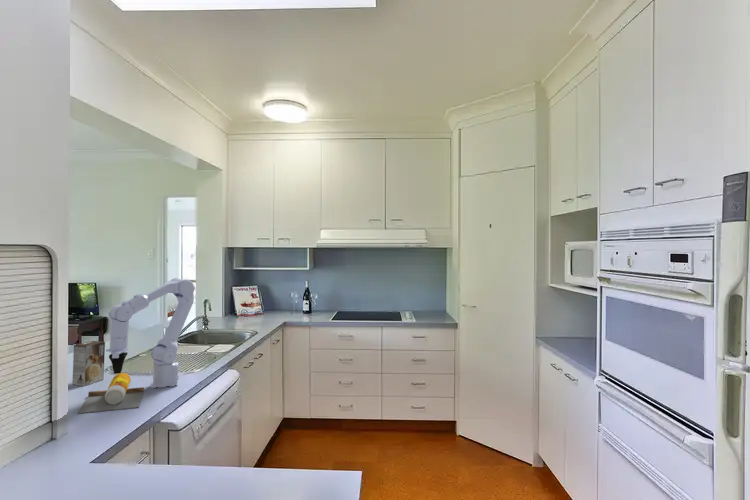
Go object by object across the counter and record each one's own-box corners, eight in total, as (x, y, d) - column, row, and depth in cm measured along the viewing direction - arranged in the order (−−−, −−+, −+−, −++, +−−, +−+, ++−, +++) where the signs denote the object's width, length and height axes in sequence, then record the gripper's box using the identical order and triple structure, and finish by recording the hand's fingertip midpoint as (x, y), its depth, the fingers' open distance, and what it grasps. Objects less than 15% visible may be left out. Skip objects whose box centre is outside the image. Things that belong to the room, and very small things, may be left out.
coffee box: (91, 378, 175) (93, 340, 175) (104, 379, 174) (106, 341, 174) (71, 384, 166) (73, 344, 166) (84, 386, 165) (86, 345, 165)
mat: (143, 392, 160) (143, 391, 160) (138, 407, 145) (138, 406, 145) (88, 397, 153) (88, 396, 153) (76, 413, 137) (76, 412, 137)
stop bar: (144, 391, 161) (144, 387, 161) (143, 392, 160) (143, 388, 160) (88, 396, 154) (89, 391, 154) (88, 397, 153) (88, 392, 153)
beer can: (131, 371, 160) (124, 388, 147) (130, 386, 161) (123, 404, 147) (112, 372, 158) (104, 389, 144) (112, 387, 159) (103, 406, 145)
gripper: (110, 333, 161) (108, 368, 161) (103, 341, 148) (101, 379, 148) (131, 333, 164) (129, 367, 164) (125, 340, 151) (124, 377, 151)
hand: (117, 373), depth 156 cm, fingers closed
